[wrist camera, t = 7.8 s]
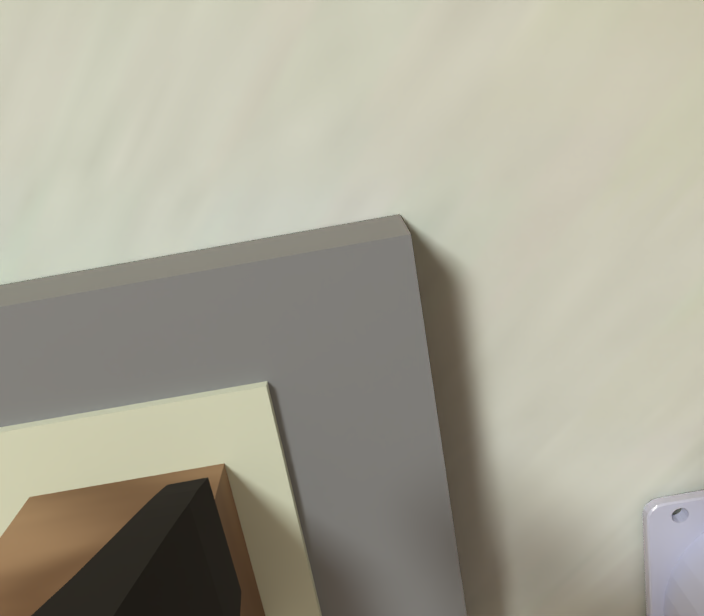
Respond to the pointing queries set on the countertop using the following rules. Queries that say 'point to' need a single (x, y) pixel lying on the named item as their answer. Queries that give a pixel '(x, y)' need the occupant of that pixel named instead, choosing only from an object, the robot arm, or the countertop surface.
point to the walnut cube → (99, 536)
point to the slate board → (250, 406)
